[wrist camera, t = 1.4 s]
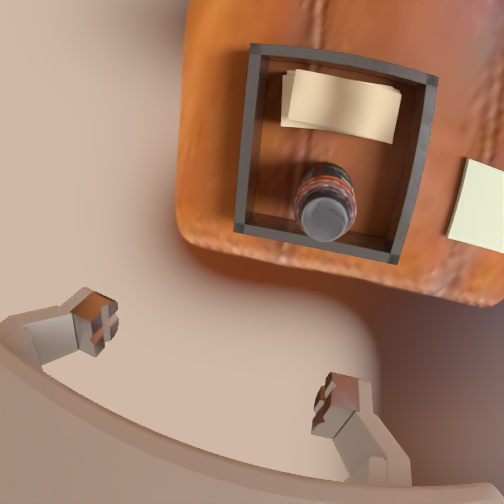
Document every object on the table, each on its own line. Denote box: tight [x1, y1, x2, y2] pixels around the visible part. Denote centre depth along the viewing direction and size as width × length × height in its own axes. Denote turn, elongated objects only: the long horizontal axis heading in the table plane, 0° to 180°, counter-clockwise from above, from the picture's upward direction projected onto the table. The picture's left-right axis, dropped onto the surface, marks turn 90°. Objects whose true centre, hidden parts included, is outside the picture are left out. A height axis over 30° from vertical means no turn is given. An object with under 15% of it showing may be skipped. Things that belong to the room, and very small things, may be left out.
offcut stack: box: [281, 69, 402, 144], centre depth 28 cm, size 12×6×6 cm, turn 84°
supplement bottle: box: [293, 163, 357, 242], centre depth 30 cm, size 6×6×11 cm
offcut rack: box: [233, 43, 438, 265], centre depth 31 cm, size 19×21×4 cm
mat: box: [446, 158, 504, 253], centre depth 30 cm, size 10×10×1 cm
